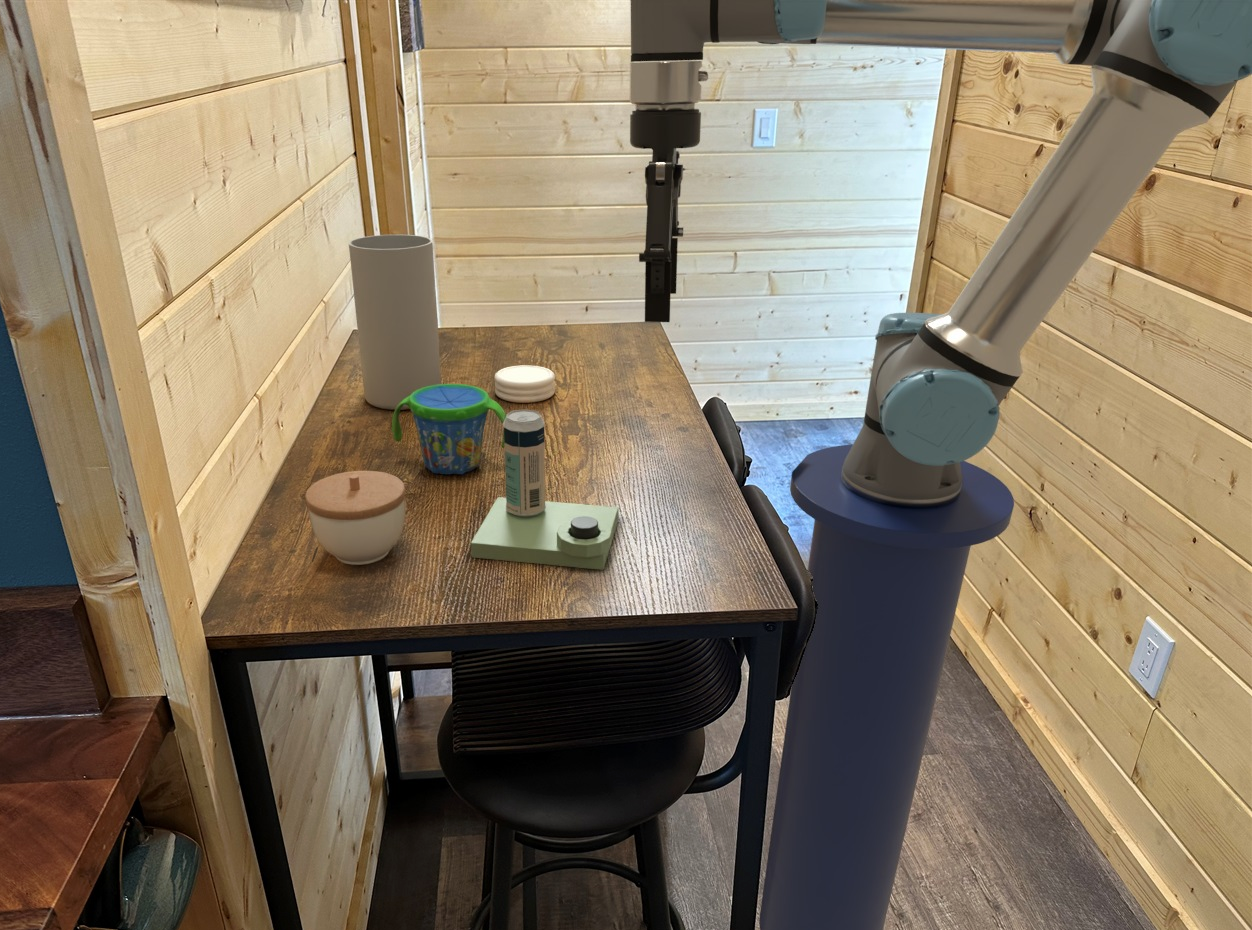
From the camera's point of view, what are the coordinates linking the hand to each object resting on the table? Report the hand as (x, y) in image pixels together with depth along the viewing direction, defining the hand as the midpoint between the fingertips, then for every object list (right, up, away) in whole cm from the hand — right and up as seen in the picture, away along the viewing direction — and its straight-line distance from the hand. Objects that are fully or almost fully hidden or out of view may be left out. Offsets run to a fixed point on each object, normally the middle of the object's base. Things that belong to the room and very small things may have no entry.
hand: (661, 306), depth 106 cm
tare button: (-9, -26, -6) cm, 28 cm away
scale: (-13, -27, 0) cm, 30 cm away
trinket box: (-34, -29, -3) cm, 45 cm away
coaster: (-18, -4, +46) cm, 49 cm away
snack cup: (-27, -18, +19) cm, 37 cm away
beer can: (-16, -24, +3) cm, 29 cm away
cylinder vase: (-38, -5, +43) cm, 58 cm away
